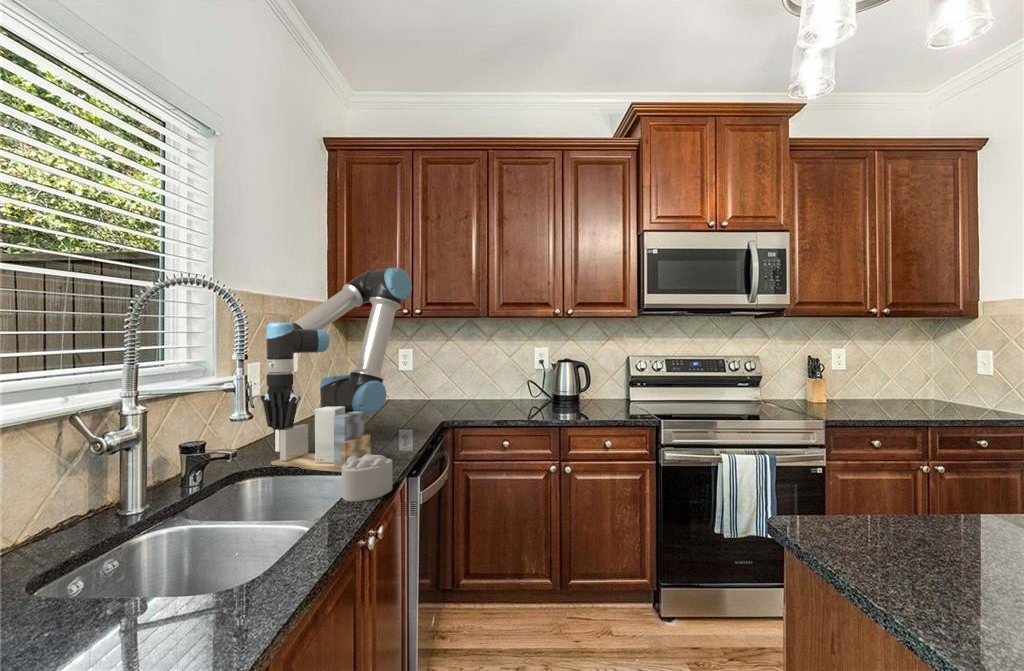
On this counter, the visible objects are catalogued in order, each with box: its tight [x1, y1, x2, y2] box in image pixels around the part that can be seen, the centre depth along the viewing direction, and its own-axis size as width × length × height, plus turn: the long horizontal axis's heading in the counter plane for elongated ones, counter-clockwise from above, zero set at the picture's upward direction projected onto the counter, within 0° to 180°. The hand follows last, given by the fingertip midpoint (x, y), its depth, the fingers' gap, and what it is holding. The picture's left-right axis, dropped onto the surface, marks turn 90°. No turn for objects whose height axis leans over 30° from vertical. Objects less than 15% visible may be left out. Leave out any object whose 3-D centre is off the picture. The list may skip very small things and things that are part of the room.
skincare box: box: [314, 406, 345, 463], centre depth 156 cm, size 8×7×16 cm
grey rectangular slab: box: [279, 423, 309, 461], centre depth 159 cm, size 10×2×9 cm, turn 164°
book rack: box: [270, 411, 372, 473], centre depth 156 cm, size 13×25×15 cm, turn 73°
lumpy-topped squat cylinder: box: [341, 454, 393, 502], centre depth 128 cm, size 10×13×9 cm
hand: (280, 450), depth 160 cm, fingers closed
